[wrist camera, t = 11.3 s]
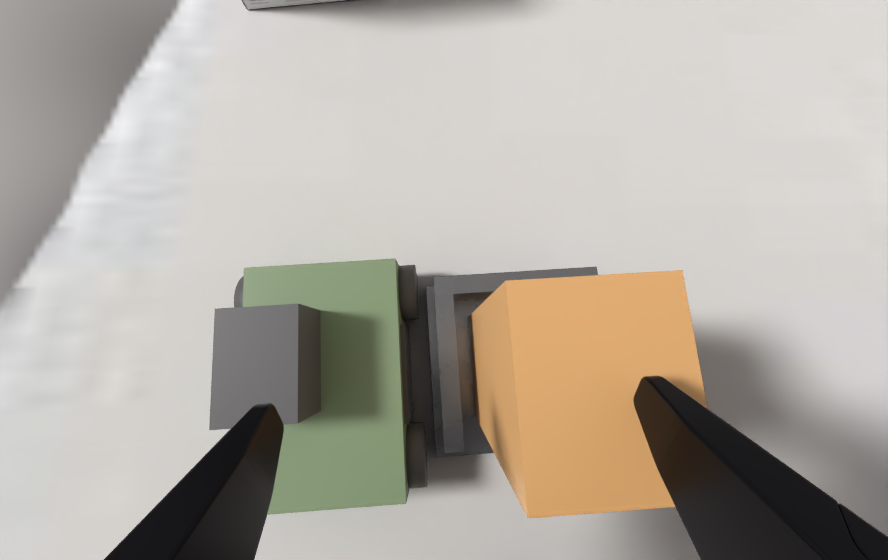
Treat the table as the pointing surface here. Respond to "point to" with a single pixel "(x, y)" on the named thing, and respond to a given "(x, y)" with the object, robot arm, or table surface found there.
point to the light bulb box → (278, 3)
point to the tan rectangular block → (580, 385)
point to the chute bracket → (464, 353)
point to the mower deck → (326, 379)
